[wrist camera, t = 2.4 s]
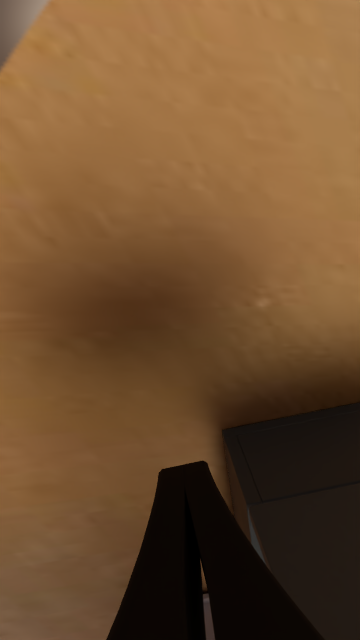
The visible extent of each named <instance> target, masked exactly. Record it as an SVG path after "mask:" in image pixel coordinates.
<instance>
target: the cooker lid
mask: <svg viewBox="0 0 360 640" xmlns="http://www.w3.org/2000/svg"><path fill="white" fill-rule="evenodd" d="M249 514H250V520H251V523H252V526H253V528H254V531H255V534H256V537H257V540H258V543H259V546H260V548H261V551H262V554H263V557H264V560H265V563H266V566H267V567H268V569H269V570H270V571H271V573H272V574H273V575H274V577H275V578H276V579H277V581H278V582H279V583H280V585H281V586H282V587H283V589H284V590H285V591H286V592H287V594H288V595H289V596H290V597H291V599H292V600H293V601H294V603H295V604H296V605H297V606H298V608H299V609H300V610H301V611H302V612H303V614H304V615H305V616H306V617H307V619H308V620H309V621H310V622H311V623H312V625H313V626H314V627H315V628H316V630H317V631H318V632H319V633H320V634H321V636H322V637H323V638H324V639H325V640H360V484H355V485H350V486H345V487H341V488H336V489H331V490H326V491H321V492H317V493H312V494H307V495H302V496H298V497H293V498H288V499H283V500H278V501H274V502H269V503H264V504H259V505H254V506H250V507H249Z"/></svg>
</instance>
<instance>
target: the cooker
mask: <svg viewBox="0 0 360 640" xmlns="http://www.w3.org/2000/svg"><path fill="white" fill-rule="evenodd" d="M222 435H223V442H224V449H225V455H226V462H227V469H228V476H229V482H230V489H231V496H232V503H233V509H234V516H235V519H236V521H237V523H238V524H239V526H240V528H241V529H242V531H243V532H244V534H245V535H246V537H247V538H248V540H249V541H250V543H251V544H252V546H253V547H254V549H255V550H256V552H257V553H258V554H259V556H260V557H261V559H262V560H263V562H264V563H265V560H264V557H263V554H262V551H261V548H260V546H259V543H258V540H257V537H256V534H255V531H254V528H253V526H252V523H251V520H250V514H249V507H250V506H254V505H259V504H264V503H269V502H274V501H278V500H283V499H288V498H293V497H298V496H302V495H307V494H312V493H317V492H321V491H326V490H331V489H336V488H341V487H345V486H350V485H355V484H360V403H355V404H350V405H345V406H340V407H335V408H330V409H325V410H320V411H315V412H310V413H305V414H300V415H295V416H290V417H285V418H280V419H275V420H270V421H265V422H260V423H255V424H250V425H245V426H240V427H235V428H230V429H225V430H222ZM265 564H266V563H265Z"/></svg>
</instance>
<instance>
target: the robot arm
mask: <svg viewBox="0 0 360 640" xmlns="http://www.w3.org/2000/svg"><path fill="white" fill-rule="evenodd" d="M200 559H201V563H202V567H203V572H204V576H205V580H206V584H207V589H208V593H206V594H203V590H202V577H201V564H200ZM106 640H325V639H324V638H323V637H322V636H321V634H320V633H319V632H318V631H317V630H316V628H315V627H314V626H313V625H312V623H311V622H310V621H309V620H308V619H307V617H306V616H305V615H304V614H303V612H302V611H301V610H300V609H299V608H298V606H297V605H296V604H295V603H294V601H293V600H292V599H291V597H290V596H289V595H288V594H287V592H286V591H285V590H284V589H283V587H282V586H281V585H280V583H279V582H278V581H277V579H276V578H275V577H274V575H273V574H272V573H271V571H270V570H269V569H268V567H267V566H266V564H265V563H264V562H263V560H262V559H261V557H260V556H259V554H258V553H257V552H256V550H255V549H254V547H253V546H252V544H251V543H250V541H249V540H248V538H247V537H246V535H245V534H244V532H243V531H242V529H241V528H240V526H239V524H238V523H237V521H236V519H235V518H234V516H233V515H232V513H231V511H230V510H229V508H228V506H227V505H226V503H225V501H224V499H223V497H222V495H221V494H220V492H219V490H218V488H217V486H216V484H215V482H214V479H213V477H212V475H211V472H210V470H209V467H208V464H207V463H206V462H205V461H199V462H194V463H189V464H185V465H180V466H175V467H170V468H165V469H162V470H161V471H160V472H159V475H158V482H157V488H156V493H155V498H154V502H153V506H152V510H151V514H150V518H149V521H148V525H147V528H146V532H145V535H144V539H143V542H142V545H141V549H140V552H139V555H138V558H137V561H136V563H135V566H134V569H133V572H132V575H131V578H130V581H129V584H128V587H127V589H126V592H125V595H124V597H123V600H122V602H121V605H120V608H119V610H118V613H117V615H116V618H115V620H114V623H113V625H112V627H111V630H110V632H109V635H108V637H107V639H106Z"/></svg>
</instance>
